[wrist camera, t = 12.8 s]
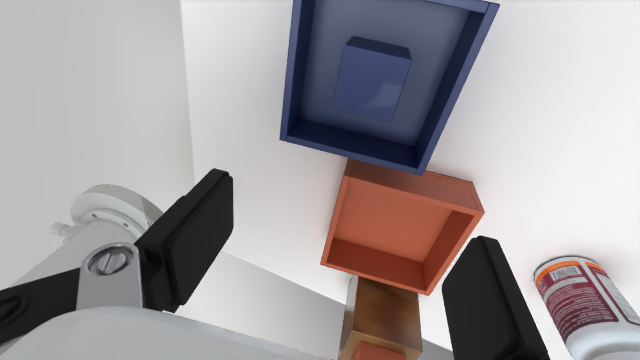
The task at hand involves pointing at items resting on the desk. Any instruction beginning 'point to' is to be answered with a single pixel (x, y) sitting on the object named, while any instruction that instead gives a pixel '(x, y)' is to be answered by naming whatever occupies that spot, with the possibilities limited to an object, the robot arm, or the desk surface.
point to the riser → (380, 319)
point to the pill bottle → (589, 310)
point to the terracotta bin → (399, 225)
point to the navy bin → (419, 88)
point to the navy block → (371, 78)
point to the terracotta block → (376, 353)
